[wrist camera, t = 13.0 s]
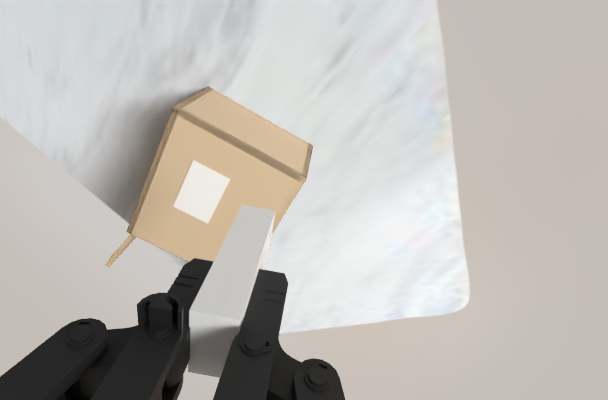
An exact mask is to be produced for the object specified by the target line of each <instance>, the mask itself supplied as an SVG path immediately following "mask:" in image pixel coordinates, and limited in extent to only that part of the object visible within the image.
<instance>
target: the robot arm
mask: <svg viewBox="0 0 608 400" xmlns="http://www.w3.org/2000/svg"><path fill="white" fill-rule="evenodd" d="M274 217H275V210H270V209H264V208H259V207H253V206H248V205H242V207H241V209H240V211H239V213H238V215H237V217H236V219H235V221H234V223H233V225H232V227H231V229H230V231H229V233H228V235H227V237H226V239H225V241H224V243H223V245H222V247H221V248H220V250H219V252H218V254H217V256H216V258H215V260H214V261H208V260H203V259H197V258H194V259H192V260H191V261H190V262H188V263H187V264H185V265H184V266H183V268H182V270H181V271H180V273H179V275H178V277H177V278H176V279H175V281H174V284H173V285H172V286H171V288H170V289H169V291H168V293H157V294H152V295H149V296H147V297H146V298H143V299H142V300H141V301H140V302H139V303H138V304H137V312H138V324H139V325H137V326H134V327H130V328H123V329H111V330H107V329H106V326H105V324H104V323H102V322H101V321H100V320H96V319H92V318H90V319H80V320H77V321H74V322H71V323H69V324H68V325H66V326H64V327H63V328H61V329H60V330H59V331H58V332H56V333H55V334H54V335H53V336H51V337H50V338H49V339H47V340H46V341H45V342H44V343H42V344H41V345H40V346H39V347H37V348H36V349H35V350H34V351H32V352H31V353H30V354H29V355H27V356H26V357H25V358H24V359H22V360H21V361H20V362H18V363H17V364H16V365H15V366H13V367H12V368H11V369H10V370H8V371H7V372H6V373H5V374H3V375H2V376H1V377H0V400H177V398H178V396H179V393H180V391H181V388H182V384H183V373H184V371H185V369H186V367H187V364H188V372H193V373H198V374H204V375H209V376H214V377H220V380H219V383H218V386H217V389H216V392H215V395H214V399H213V400H345V397H344V393H343V389H342V386H341V382H340V378H339V376H338V374H337V371H336V370H335V369H334V368H333V367H332V366H331V365H330V364H329V363H327V362H325V361H323V360H320V359H308V360H305V361H303V362H302V363H301V362H299V361H297V360H295V359H293V358H291V357H290V356H289V355H287V354H286V353H285V352H284V351H283V349H282V348H281V346H280V344H279V340H278V336H279V330H280V325H281V320H282V314H283V309H284V303H285V298H286V292H287V287H288V282H287V279H286V276H285V274H284V273H278V272H273V271H268V270H265V269H266V266H267V262H268V259H269V252H270V245H271V238H272V231H273V224H274Z"/></svg>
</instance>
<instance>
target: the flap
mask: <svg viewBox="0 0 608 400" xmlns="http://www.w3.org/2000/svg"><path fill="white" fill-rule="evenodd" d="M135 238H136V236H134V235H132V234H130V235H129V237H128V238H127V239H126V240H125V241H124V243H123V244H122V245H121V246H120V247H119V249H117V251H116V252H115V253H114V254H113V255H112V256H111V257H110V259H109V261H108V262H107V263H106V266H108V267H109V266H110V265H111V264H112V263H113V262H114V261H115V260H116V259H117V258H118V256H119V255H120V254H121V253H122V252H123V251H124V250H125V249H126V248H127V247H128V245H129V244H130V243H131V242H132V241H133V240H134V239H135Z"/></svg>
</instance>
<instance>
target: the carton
mask: <svg viewBox="0 0 608 400" xmlns="http://www.w3.org/2000/svg"><path fill="white" fill-rule="evenodd" d="M312 149H313V146H312V145H311V144H309V143H307V142H305V141H304V140H302V139H300V138H298V137H296V136H295V135H293V134H291V133H289V132H288V131H286V130H284V129H282V128H281V127H279V126H277V125H275V124H274V123H272V122H270V121H268V120H266V119H265V118H263V117H261V116H259V115H258V114H256V113H254V112H252V111H251V110H249V109H247V108H245V107H243V106H242V105H240V104H238V103H236V102H235V101H233V100H231V99H229V98H228V97H226V96H224V95H222V94H220V93H219V92H217V91H215V90H213V89H212V88H210V87H207V88H205V89H204V90H202V91H200V92H198V93H197V94H195V95H193V96H191V97H190V98H188V99H186V100H184V101H182V102H181V103H179V104H177V105H175V106H174V107H173V110H172V112H171V115H170V118H169V120H168V123H167V126H166V128H165V131H164V134H163V136H162V139H161V142H160V144H159V147H158V150H157V152H156V155H155V158H154V160H153V163H152V165H151V168H150V171H149V173H148V176H147V179H146V181H145V184H144V187H143V189H142V192H141V195H140V197H139V200H138V203H137V205H136V208H135V211H134V213H133V216H132V219H131V221H130V224H129V227H128V229H127V232H128V233H130V234H132V235H134V236H136V237H138V238H140V239H142V240H145V241H147V242H149V243H151V244H153V245H155V246H157V247H159V248H161V249H163V250H165V251H168V252H170V253H172V254H174V255H176V256H178V257H180V258H182V259H184V260H186V261H188V262H190V261H191V260H192V259H194V258H197V259H203V260H208V261H214V260H215V258H216V256H217V254H218V252H219V250H220V248H221V247H222V245H223V243H224V241H225V239H226V237H227V235H228V233H229V231H230V229H231V227H232V225H233V223H234V221H235V219H236V217H237V215H238V213H239V211H240V209H241V207H242V205H248V206H253V207H259V208H264V209H270V210H275V217H274V224H273V231H272V234H273V232H274V230H275V229H276V227H277V226H278V224H279V222H280V221H281V219H282V218H283V216H284V214H285V213H286V211H287V210H288V208H289V206H290V205H291V203H292V201H293V200H294V198H295V197H296V195H297V193H298V192H299V190H300V189H301V187H302V185H303V184H304V182H305V181H306V179H307V174H308V169H309V164H310V159H311V154H312Z"/></svg>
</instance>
